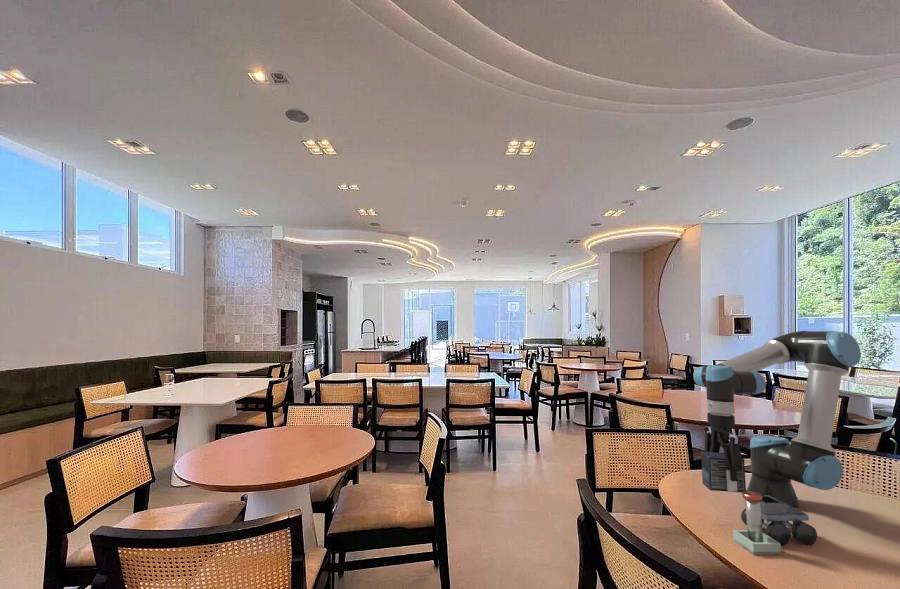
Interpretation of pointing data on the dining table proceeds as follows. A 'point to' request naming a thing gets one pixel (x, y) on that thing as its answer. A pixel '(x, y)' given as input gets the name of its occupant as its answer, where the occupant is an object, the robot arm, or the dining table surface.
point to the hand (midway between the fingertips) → (723, 485)
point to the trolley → (784, 522)
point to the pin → (753, 516)
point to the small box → (719, 472)
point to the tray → (757, 544)
